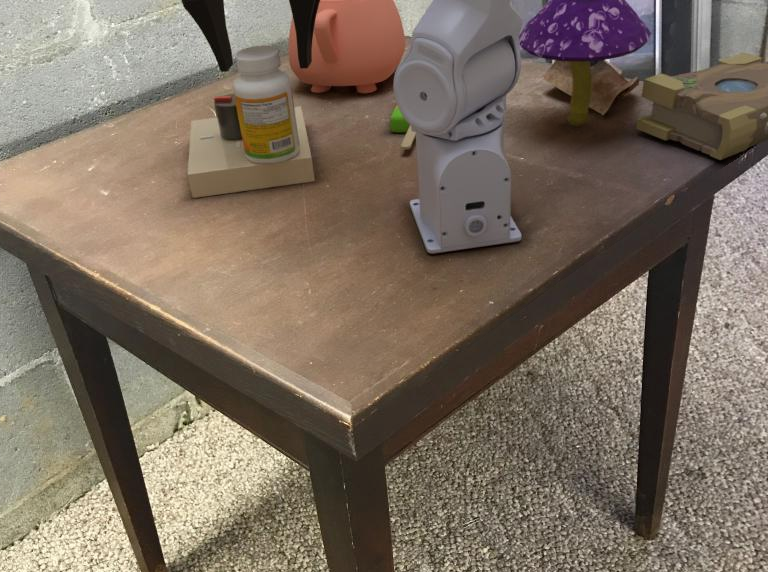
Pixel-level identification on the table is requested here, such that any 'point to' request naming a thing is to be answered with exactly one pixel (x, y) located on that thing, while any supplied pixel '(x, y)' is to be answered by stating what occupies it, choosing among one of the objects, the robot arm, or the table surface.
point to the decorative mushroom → (583, 40)
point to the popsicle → (402, 128)
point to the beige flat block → (240, 162)
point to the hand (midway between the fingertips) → (266, 66)
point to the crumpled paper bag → (593, 82)
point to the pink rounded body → (351, 45)
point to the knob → (227, 117)
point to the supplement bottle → (265, 106)
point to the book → (711, 106)
